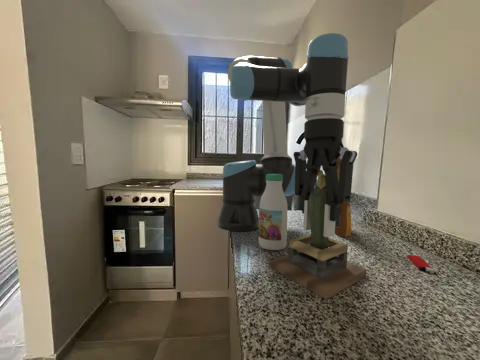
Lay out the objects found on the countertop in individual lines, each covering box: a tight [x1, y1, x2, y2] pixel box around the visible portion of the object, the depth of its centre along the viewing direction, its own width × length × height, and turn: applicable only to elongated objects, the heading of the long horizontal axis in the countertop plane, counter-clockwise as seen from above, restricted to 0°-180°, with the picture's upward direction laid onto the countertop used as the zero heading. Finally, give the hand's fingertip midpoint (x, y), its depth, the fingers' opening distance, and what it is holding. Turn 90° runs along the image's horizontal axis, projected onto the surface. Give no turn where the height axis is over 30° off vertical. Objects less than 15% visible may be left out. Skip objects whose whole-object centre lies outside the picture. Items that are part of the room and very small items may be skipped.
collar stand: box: [269, 233, 368, 300], centre depth 48 cm, size 14×14×6 cm
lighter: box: [407, 254, 438, 275], centre depth 52 cm, size 3×1×8 cm
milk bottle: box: [258, 174, 289, 251], centre depth 62 cm, size 8×8×20 cm
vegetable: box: [309, 168, 330, 261], centre depth 47 cm, size 4×4×20 cm
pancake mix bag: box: [335, 146, 353, 238], centre depth 76 cm, size 7×19×28 cm, turn 165°
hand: (318, 232), depth 48 cm, fingers closed on vegetable, 4 cm apart
